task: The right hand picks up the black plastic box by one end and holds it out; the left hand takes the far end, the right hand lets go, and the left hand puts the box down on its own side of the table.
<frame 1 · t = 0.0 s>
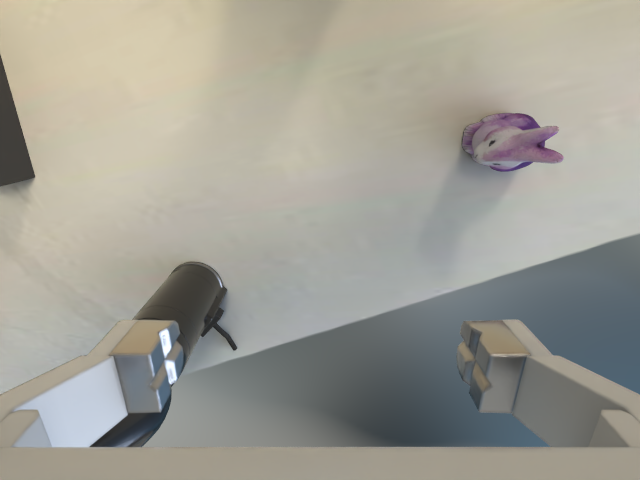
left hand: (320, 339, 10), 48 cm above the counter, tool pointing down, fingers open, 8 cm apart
figurine: (489, 142, 55), on the counter
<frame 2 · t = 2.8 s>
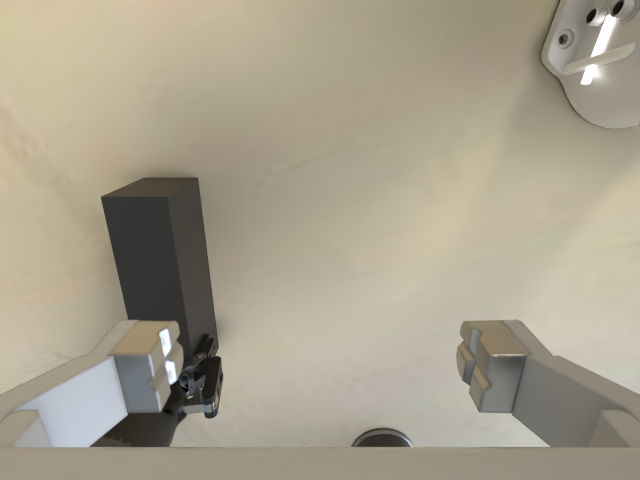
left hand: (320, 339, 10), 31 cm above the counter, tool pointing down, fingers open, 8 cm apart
box: (185, 270, 44), on the counter, touching right hand
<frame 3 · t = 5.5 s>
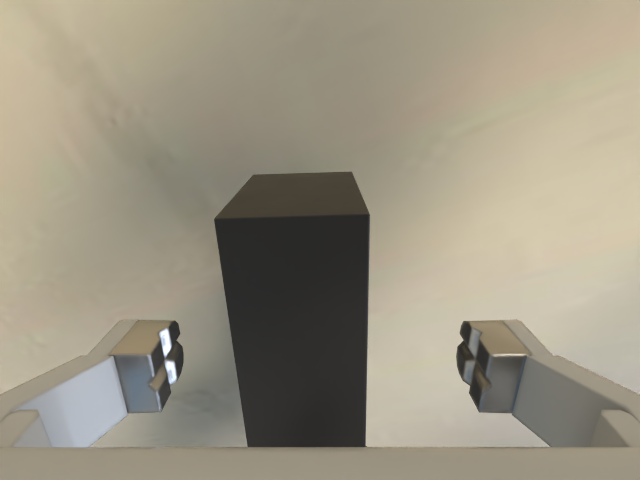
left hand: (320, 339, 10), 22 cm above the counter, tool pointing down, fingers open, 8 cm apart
box: (310, 331, 26), point 9 cm above the counter, touching right hand
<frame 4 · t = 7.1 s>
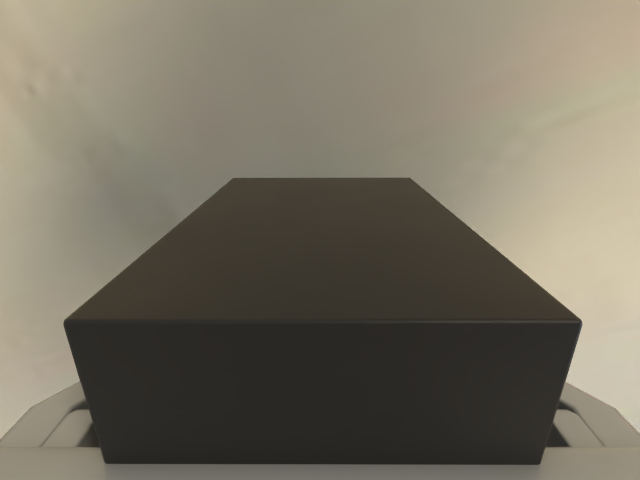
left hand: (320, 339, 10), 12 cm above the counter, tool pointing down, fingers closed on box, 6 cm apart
box: (321, 431, 16), point 9 cm above the counter, touching left hand, right hand
when the right hand's fingers open (13 cm above the counter, at t = 8.5 s): box moves 2 cm, held by the left hand.
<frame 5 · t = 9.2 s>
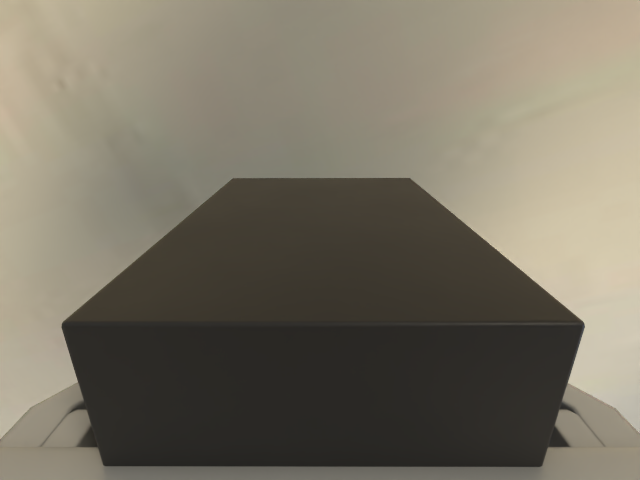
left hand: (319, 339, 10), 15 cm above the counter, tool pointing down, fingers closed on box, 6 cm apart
box: (321, 432, 16), point 12 cm above the counter, touching left hand
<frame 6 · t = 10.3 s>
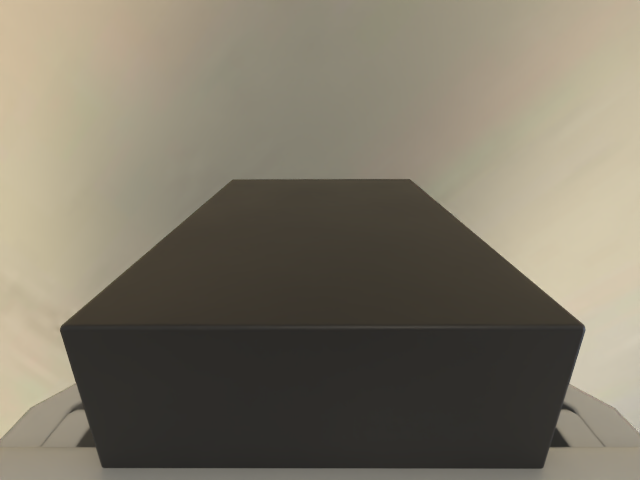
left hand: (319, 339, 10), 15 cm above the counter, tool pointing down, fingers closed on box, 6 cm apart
box: (321, 433, 16), point 12 cm above the counter, touching left hand
when the left hand's fingers open (5 cm above the counter, at t = 13.3 s): box drops 1 cm, on the counter.
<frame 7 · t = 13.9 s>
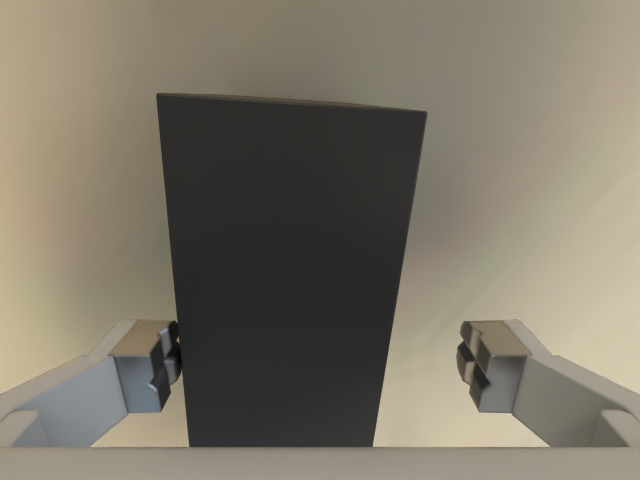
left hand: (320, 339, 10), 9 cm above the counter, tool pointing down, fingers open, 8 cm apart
box: (283, 319, 20), on the counter, touching left hand
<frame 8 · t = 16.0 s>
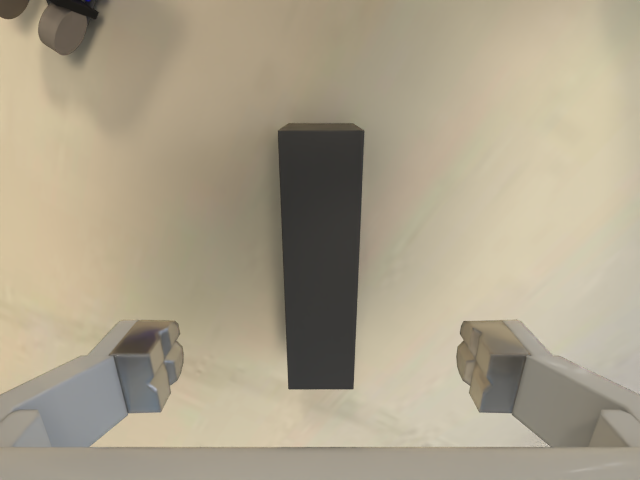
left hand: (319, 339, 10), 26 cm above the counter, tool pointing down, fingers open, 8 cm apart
box: (320, 240, 37), on the counter
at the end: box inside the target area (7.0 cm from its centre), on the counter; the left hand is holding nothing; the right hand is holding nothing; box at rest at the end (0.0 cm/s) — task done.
